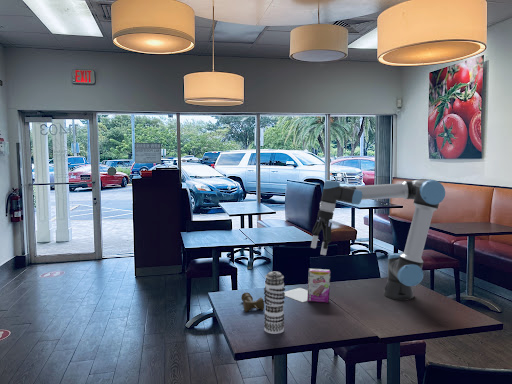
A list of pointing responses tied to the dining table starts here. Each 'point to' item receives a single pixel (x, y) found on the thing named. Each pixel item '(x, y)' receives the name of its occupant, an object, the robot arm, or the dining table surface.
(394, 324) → the dining table surface
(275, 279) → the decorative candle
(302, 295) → the mat
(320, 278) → the candy bar box
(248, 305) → the kendama
